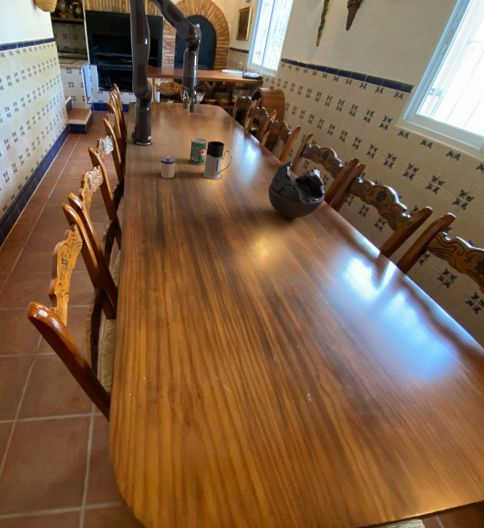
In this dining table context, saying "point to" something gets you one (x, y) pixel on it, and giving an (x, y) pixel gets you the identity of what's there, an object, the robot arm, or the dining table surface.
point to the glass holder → (214, 160)
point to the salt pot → (167, 167)
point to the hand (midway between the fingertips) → (188, 110)
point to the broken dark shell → (296, 192)
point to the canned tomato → (198, 151)
